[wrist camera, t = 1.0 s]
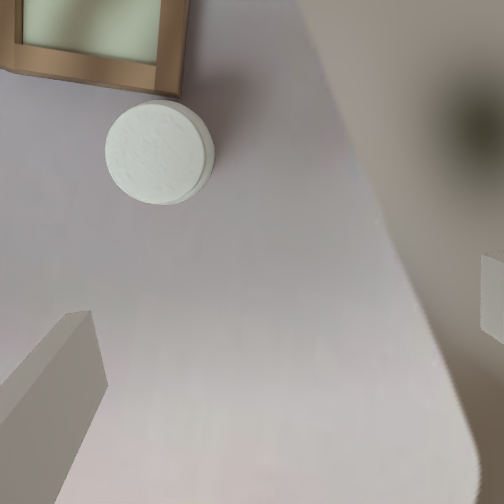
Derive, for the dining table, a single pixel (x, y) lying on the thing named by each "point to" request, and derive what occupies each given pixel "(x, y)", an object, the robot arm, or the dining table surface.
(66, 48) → the holder
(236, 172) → the dining table surface
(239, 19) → the dining table surface
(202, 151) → the pill bottle
